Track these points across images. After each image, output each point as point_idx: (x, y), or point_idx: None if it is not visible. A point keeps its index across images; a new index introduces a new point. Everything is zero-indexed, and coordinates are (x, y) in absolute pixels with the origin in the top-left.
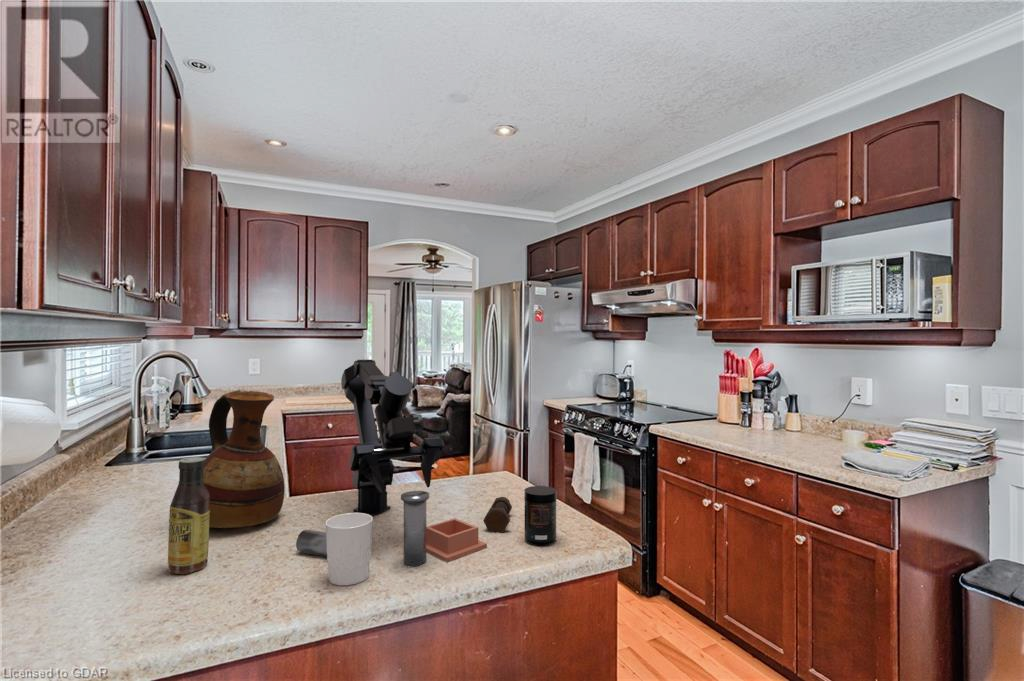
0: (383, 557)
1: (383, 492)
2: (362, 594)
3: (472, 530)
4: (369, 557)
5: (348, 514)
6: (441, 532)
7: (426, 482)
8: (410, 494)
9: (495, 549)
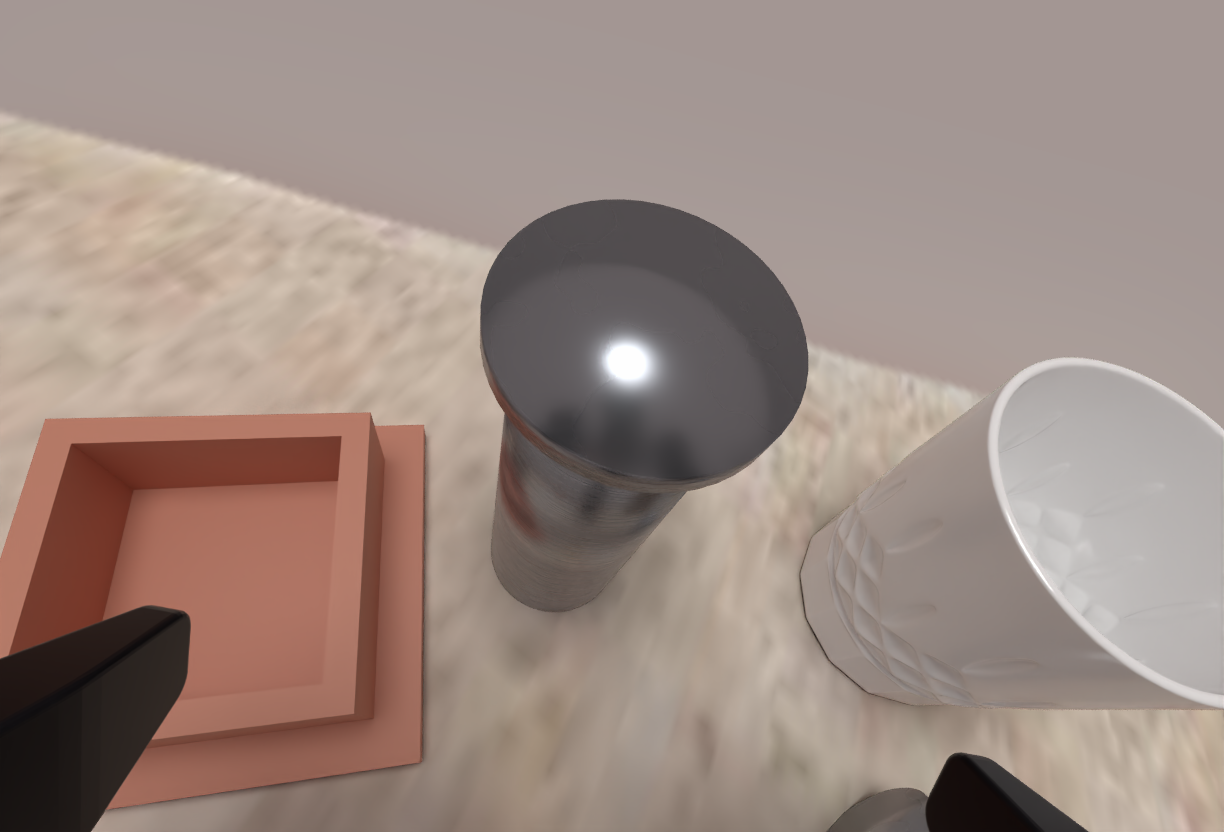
0: (674, 733)
1: (946, 776)
2: (856, 420)
3: (121, 421)
4: (857, 500)
5: (1179, 686)
6: (338, 515)
7: (117, 740)
8: (692, 363)
9: (78, 394)
